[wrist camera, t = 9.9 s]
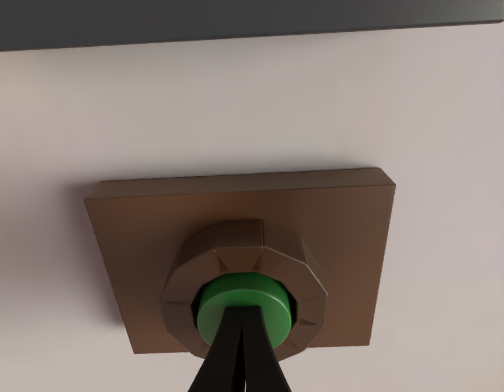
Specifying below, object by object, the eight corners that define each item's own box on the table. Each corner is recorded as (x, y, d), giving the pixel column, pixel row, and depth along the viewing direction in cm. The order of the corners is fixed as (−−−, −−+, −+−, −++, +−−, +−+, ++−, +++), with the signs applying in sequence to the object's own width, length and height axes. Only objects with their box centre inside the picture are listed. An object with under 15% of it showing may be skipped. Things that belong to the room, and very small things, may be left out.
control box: (143, 327, 18) (121, 389, 15) (101, 180, 14) (57, 223, 11) (359, 319, 18) (382, 380, 15) (380, 167, 14) (418, 207, 11)
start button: (208, 318, 15) (202, 358, 13) (198, 255, 13) (190, 291, 11) (286, 315, 15) (291, 355, 13) (286, 252, 13) (291, 287, 11)
